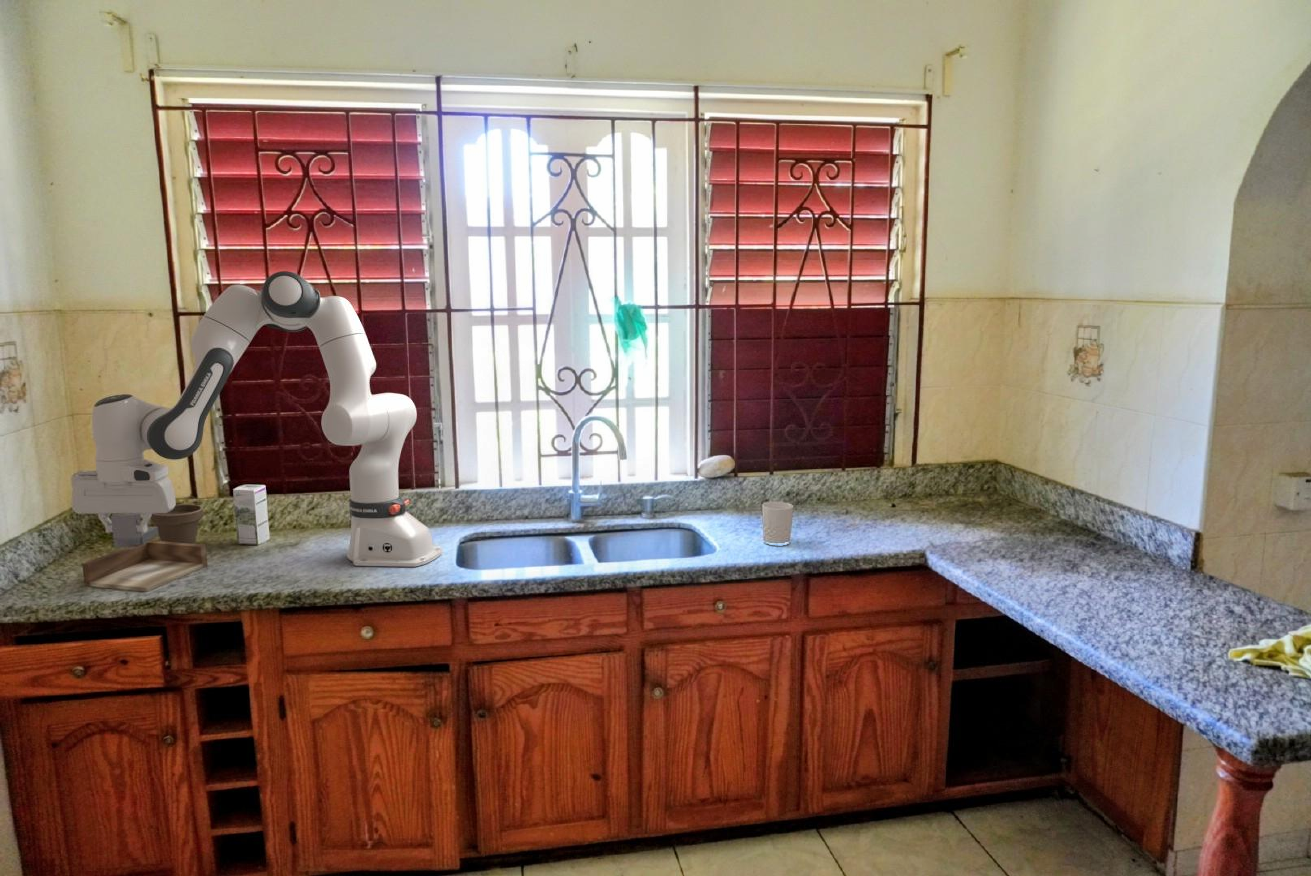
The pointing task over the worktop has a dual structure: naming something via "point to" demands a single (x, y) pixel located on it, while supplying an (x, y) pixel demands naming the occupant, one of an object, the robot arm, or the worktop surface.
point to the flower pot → (178, 523)
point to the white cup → (777, 521)
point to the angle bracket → (130, 531)
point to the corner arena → (144, 565)
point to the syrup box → (251, 514)
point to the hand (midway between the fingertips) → (127, 532)
